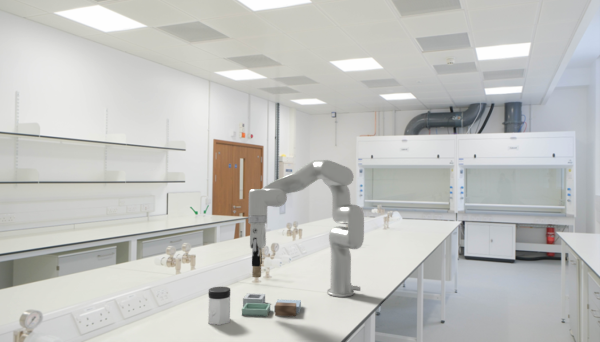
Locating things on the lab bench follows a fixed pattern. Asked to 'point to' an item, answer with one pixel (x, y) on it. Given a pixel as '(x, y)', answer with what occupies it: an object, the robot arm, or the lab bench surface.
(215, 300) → the jar
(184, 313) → the lab bench surface
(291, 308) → the block
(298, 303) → the board
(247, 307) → the tray
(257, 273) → the dowel
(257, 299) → the socket block
